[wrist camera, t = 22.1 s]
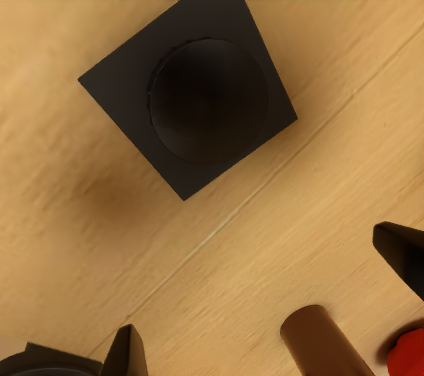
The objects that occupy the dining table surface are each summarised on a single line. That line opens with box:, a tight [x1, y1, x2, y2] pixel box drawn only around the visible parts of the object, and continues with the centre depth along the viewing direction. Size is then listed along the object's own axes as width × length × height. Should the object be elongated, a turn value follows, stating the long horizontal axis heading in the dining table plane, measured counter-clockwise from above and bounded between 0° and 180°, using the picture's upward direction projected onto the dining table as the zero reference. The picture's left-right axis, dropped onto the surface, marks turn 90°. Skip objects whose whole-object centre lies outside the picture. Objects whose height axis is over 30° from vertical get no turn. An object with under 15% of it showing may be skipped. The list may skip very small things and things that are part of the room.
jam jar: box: [281, 306, 375, 376], centre depth 28 cm, size 6×6×10 cm
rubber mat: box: [78, 0, 298, 201], centre depth 18 cm, size 10×10×1 cm
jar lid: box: [146, 37, 269, 165], centre depth 16 cm, size 7×7×2 cm
